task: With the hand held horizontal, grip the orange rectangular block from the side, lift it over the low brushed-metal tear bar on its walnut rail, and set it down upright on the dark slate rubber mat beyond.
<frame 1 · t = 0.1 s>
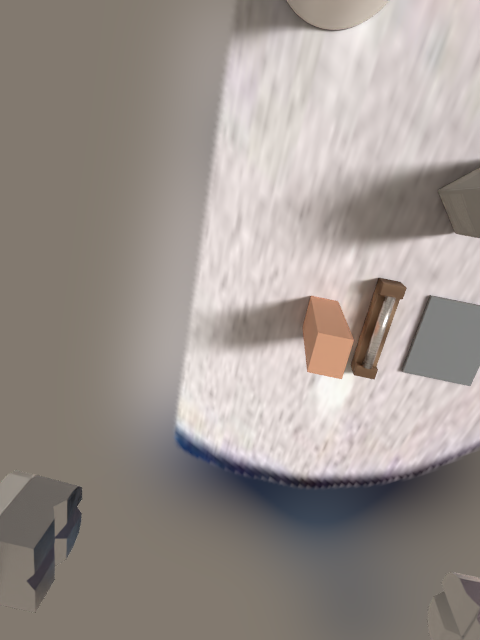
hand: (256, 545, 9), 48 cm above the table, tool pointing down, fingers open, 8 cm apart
mat: (450, 341, 56), on the table
tear bar: (374, 325, 56), on the table
skincare box: (476, 192, 49), on the table
orange rectangular block: (320, 314, 57), on the table
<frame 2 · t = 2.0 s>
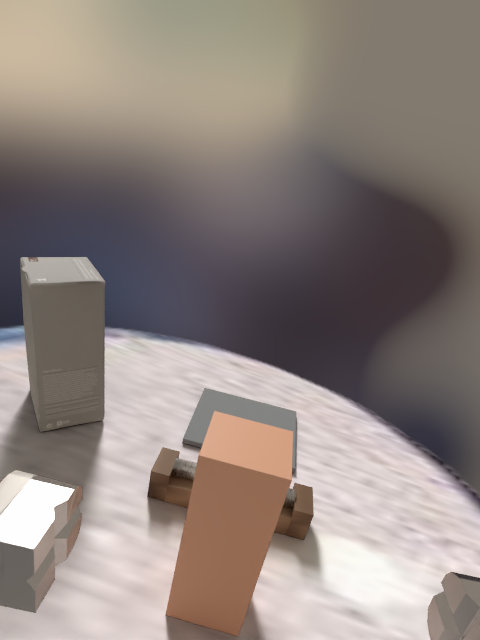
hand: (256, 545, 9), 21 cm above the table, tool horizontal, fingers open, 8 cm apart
mat: (244, 427, 45), on the table
tear bar: (227, 504, 35), on the table
skincare box: (62, 405, 42), on the table
orange rectangular block: (208, 594, 28), on the table
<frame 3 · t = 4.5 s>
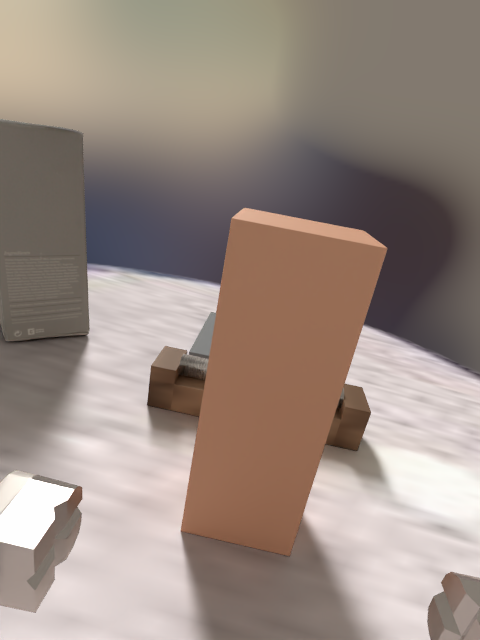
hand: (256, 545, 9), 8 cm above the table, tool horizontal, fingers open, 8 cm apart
mat: (262, 347, 37), on the table
tear bar: (252, 414, 27), on the table
skincare box: (36, 322, 34), on the table
orange rectangular block: (239, 507, 19), on the table
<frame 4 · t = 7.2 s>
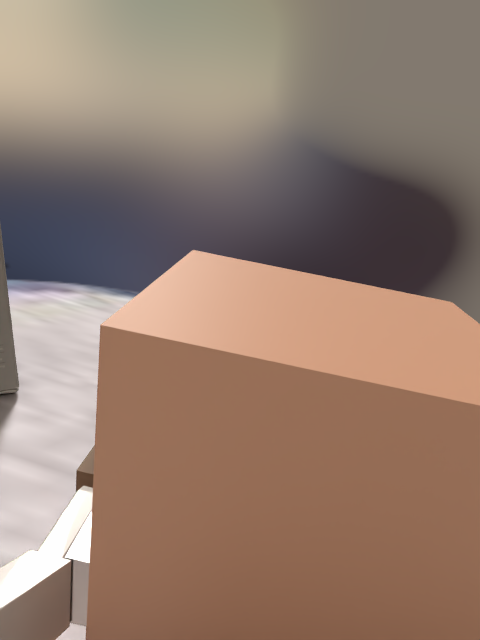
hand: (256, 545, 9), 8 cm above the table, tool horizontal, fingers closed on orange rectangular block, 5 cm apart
tear bar: (235, 530, 18), on the table
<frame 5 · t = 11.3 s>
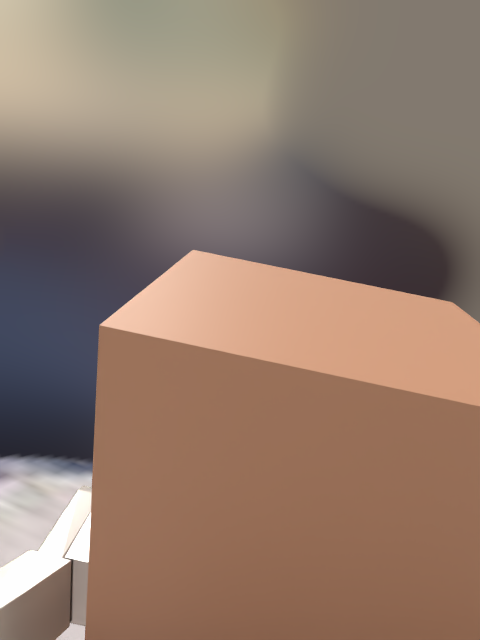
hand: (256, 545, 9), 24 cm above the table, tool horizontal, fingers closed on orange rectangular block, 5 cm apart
when the fingers open (10 cm above the table, at t = 15.9 s): orange rectangular block drops 1 cm, resting on mat.
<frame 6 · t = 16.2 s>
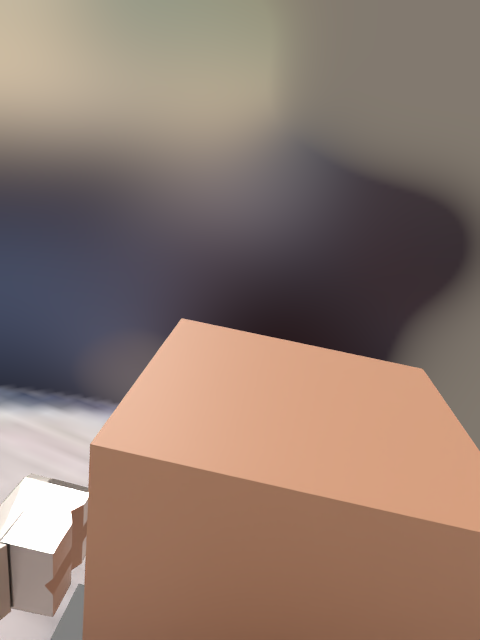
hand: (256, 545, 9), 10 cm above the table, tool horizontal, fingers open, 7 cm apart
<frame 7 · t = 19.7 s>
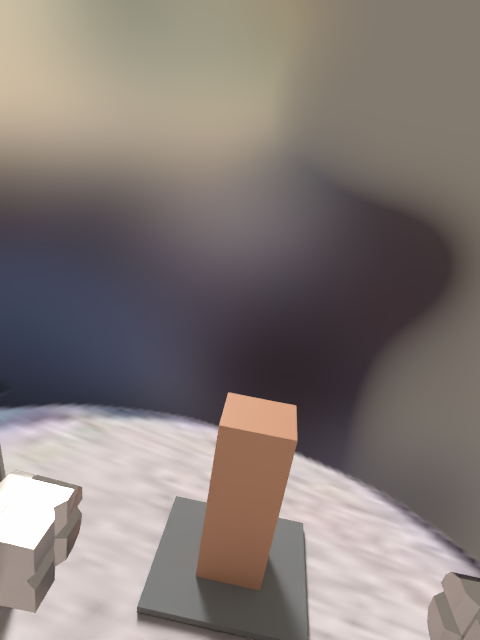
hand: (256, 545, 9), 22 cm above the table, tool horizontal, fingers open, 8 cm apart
mat: (230, 564, 32), on the table
orange rectangular block: (231, 559, 31), point 1 cm above the table, touching mat
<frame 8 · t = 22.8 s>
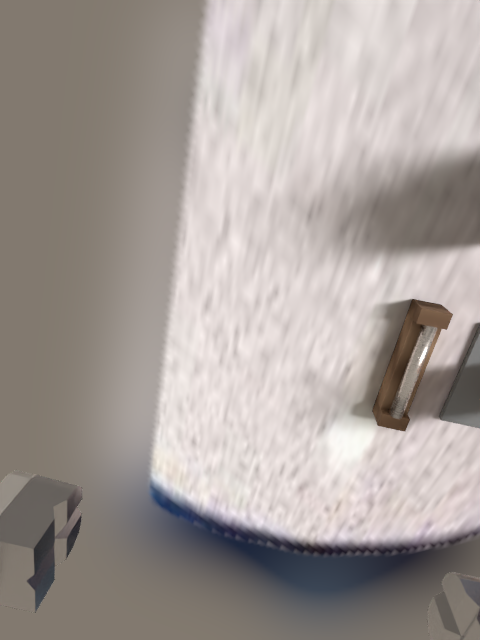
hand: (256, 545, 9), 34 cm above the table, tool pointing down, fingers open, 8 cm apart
tear bar: (404, 360, 43), on the table
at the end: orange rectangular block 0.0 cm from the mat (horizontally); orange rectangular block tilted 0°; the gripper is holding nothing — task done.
